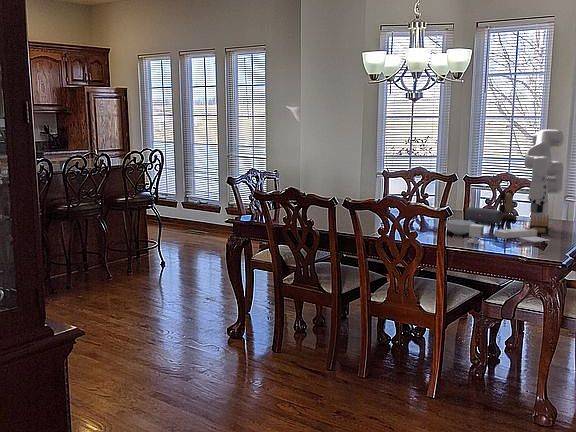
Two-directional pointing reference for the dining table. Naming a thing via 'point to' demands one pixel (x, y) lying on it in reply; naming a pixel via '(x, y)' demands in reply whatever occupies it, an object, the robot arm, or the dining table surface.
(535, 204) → the block
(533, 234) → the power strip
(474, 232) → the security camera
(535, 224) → the ammunition clip
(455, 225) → the cereal bowl
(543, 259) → the dining table surface
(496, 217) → the bluetooth speaker
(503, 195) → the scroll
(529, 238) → the felt pad
